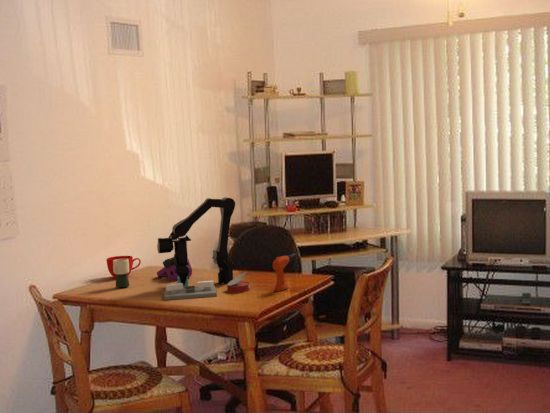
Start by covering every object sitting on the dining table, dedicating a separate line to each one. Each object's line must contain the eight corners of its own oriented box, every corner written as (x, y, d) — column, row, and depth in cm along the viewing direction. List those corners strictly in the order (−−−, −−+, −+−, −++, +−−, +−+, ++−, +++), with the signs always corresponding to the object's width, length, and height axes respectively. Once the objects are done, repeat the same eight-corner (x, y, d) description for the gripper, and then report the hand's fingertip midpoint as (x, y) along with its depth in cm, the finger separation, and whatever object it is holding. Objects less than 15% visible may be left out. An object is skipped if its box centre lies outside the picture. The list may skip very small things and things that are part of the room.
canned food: (243, 303, 311) (238, 285, 306) (225, 298, 317) (219, 281, 311) (257, 286, 319) (252, 269, 314) (238, 282, 324) (233, 265, 319)
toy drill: (302, 279, 324) (299, 247, 321) (282, 293, 308) (278, 260, 305) (293, 279, 326) (289, 247, 323) (272, 292, 311) (268, 259, 308)
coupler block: (188, 286, 331) (188, 275, 330) (188, 287, 327) (188, 276, 326) (177, 287, 330) (177, 276, 330) (177, 288, 326) (177, 277, 326)
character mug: (124, 284, 342) (122, 257, 341) (136, 285, 339) (134, 258, 338) (108, 289, 332) (106, 261, 331) (121, 290, 329) (119, 262, 328)
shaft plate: (214, 288, 321) (214, 277, 321) (216, 296, 305) (216, 284, 305) (165, 292, 318) (164, 281, 318) (164, 300, 303) (163, 288, 302)
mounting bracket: (158, 290, 354) (179, 277, 343) (153, 274, 356) (173, 261, 345) (173, 287, 361) (194, 274, 350) (167, 271, 363) (188, 258, 352)
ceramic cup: (144, 276, 360) (142, 257, 360) (110, 281, 354) (108, 260, 353) (138, 273, 372) (137, 254, 371) (105, 277, 366) (104, 257, 365)
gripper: (163, 249, 335) (165, 282, 336) (162, 255, 317) (164, 290, 318) (187, 247, 336) (189, 280, 338) (188, 253, 318) (190, 288, 319)
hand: (183, 285), depth 328 cm, fingers closed on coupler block, 4 cm apart
